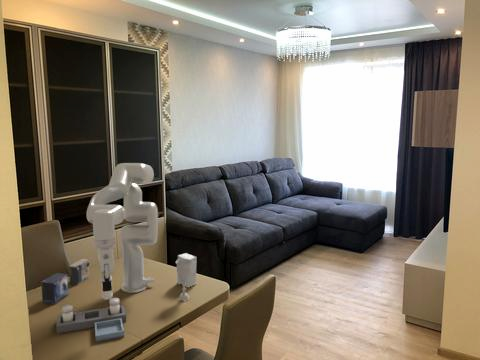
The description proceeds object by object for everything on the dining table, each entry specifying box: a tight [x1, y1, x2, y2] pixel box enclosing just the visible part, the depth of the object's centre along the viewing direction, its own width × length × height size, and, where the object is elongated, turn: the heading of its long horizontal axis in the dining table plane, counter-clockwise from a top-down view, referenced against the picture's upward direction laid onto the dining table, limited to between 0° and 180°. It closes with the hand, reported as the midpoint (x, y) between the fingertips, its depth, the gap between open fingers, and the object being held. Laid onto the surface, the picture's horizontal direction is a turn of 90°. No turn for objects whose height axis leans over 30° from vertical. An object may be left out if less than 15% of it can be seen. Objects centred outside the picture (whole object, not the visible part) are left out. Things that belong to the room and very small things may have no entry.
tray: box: [94, 318, 125, 343], centre depth 156 cm, size 10×10×2 cm
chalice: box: [175, 259, 191, 301], centre depth 184 cm, size 7×7×18 cm
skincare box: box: [176, 252, 198, 288], centre depth 199 cm, size 8×6×15 cm
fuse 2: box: [108, 297, 121, 315], centre depth 167 cm, size 4×4×8 cm
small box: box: [41, 272, 69, 306], centre depth 183 cm, size 11×6×10 cm, turn 168°
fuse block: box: [55, 304, 127, 334], centre depth 164 cm, size 26×9×3 cm, turn 111°
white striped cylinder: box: [100, 275, 114, 301], centre depth 153 cm, size 4×4×8 cm
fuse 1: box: [61, 304, 74, 323], centre depth 160 cm, size 4×4×8 cm
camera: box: [68, 258, 90, 286], centre depth 203 cm, size 11×6×10 cm, turn 163°
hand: (106, 287), depth 153 cm, fingers closed on white striped cylinder, 4 cm apart
